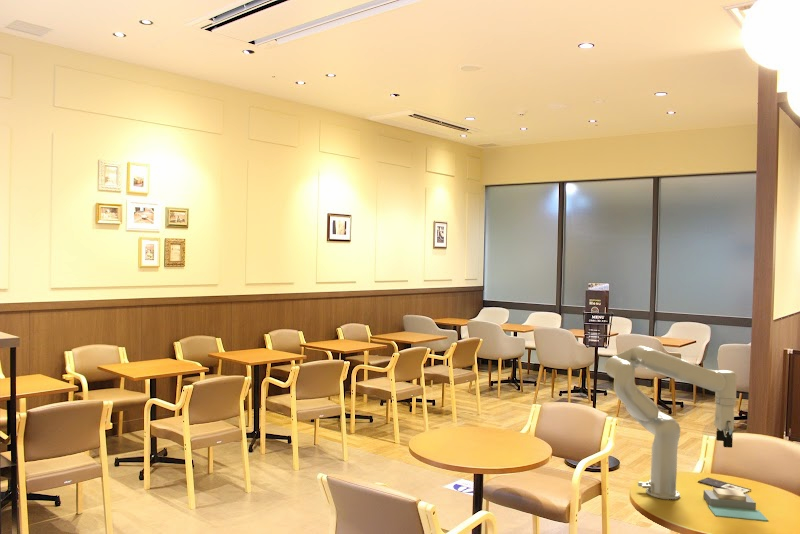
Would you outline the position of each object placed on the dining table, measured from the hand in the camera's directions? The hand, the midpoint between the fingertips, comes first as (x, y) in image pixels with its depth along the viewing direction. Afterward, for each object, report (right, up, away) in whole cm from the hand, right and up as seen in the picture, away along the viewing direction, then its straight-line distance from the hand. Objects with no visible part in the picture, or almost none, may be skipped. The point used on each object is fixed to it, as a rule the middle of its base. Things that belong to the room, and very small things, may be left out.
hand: (724, 443), depth 266 cm
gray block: (-3, -21, -9) cm, 23 cm away
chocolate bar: (+6, -21, +11) cm, 25 cm away
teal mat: (-5, -21, -20) cm, 29 cm away
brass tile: (-3, -18, -9) cm, 20 cm away
